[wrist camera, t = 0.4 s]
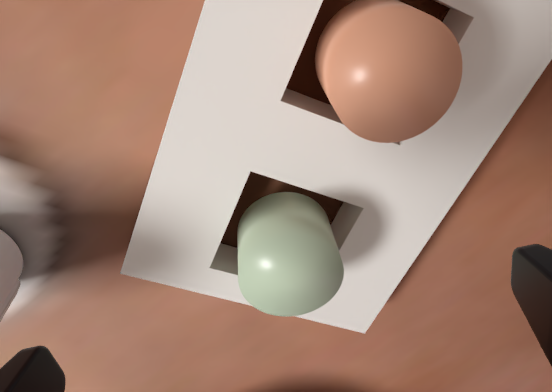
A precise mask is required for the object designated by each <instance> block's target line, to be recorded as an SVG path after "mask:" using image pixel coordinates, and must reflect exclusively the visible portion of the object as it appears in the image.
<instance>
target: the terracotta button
mask: <svg viewBox="0 0 552 392" xmlns="http://www.w3.org/2000/svg"><path fill="white" fill-rule="evenodd" d="M315 67H316V73H317V77H318V80H319V82H320V84H321V86H322V88H323V90H324V92H325V94H326V95H327V97H328V99H329V101H330V103H331V104H332V106H333V108H334V110H335V112H336V114H337V115H338V117H339V118H340V120H341V122H342V123H343V124H344V125H345V126H346V127H347V128H348V129H349V130H350V131H351V132H353V133H354V134H356V135H357V136H359V137H361V138H364V139H366V140H369V141H373V142H379V143H392V142H399V141H404V140H407V139H410V138H413V137H415V136H417V135H419V134H421V133H423V132H424V131H426V130H428V129H429V128H430V127H432V126H433V125H434V124H435V123H436V122H437V121H438V120H439V119H441V117H442V116H443V115H444V114H445V113H446V112H447V110H448V109H449V107H450V106H451V104H452V102H453V101H454V99H455V97H456V94H457V92H458V89H459V86H460V82H461V78H462V55H461V51H460V47H459V44H458V42H457V40H456V38H455V36H454V35H453V33H452V32H451V30H450V29H449V28H448V27H447V26H446V25H445V24H444V23H442V22H441V21H440V20H439V19H437V18H435V17H433V16H431V15H429V14H427V13H425V12H423V11H420V10H418V9H416V8H414V7H412V6H409V5H407V4H405V3H403V2H401V1H398V0H356V1H353V2H352V3H350V4H348V5H346V6H345V7H343V8H342V9H340V10H339V11H338V12H337V13H336V14H335V15H334V16H333V17H332V18H331V19H330V20H329V22H328V23H327V25H326V26H325V28H324V29H323V31H322V33H321V35H320V38H319V40H318V43H317V48H316V54H315Z"/></svg>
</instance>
